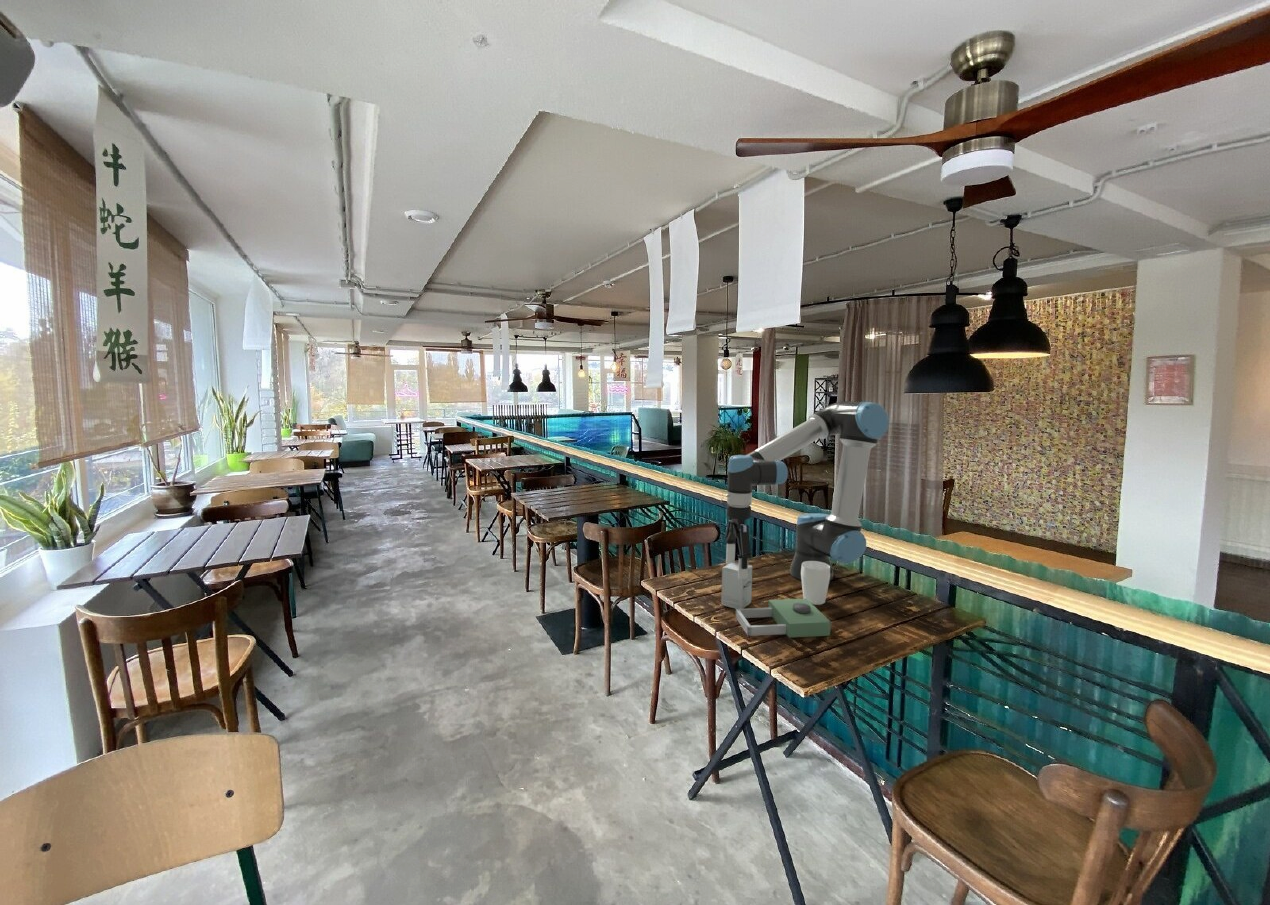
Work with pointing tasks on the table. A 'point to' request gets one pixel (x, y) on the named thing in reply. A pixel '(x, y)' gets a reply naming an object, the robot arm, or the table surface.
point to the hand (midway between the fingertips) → (736, 570)
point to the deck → (786, 619)
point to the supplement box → (735, 587)
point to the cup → (815, 581)
